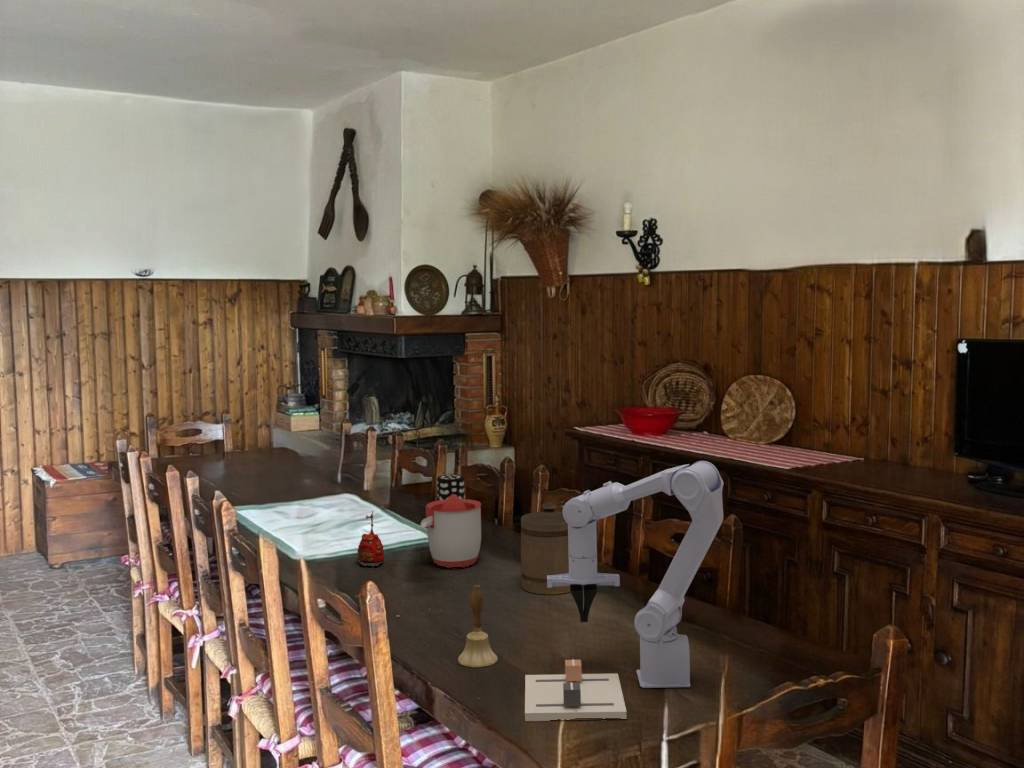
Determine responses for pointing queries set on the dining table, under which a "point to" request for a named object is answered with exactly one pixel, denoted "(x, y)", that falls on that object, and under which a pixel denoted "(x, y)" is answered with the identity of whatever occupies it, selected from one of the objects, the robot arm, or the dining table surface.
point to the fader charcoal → (571, 694)
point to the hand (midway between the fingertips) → (583, 620)
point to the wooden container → (544, 550)
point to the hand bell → (477, 637)
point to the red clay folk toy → (370, 547)
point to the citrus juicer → (453, 531)
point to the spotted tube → (450, 486)
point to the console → (596, 697)
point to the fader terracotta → (573, 670)
